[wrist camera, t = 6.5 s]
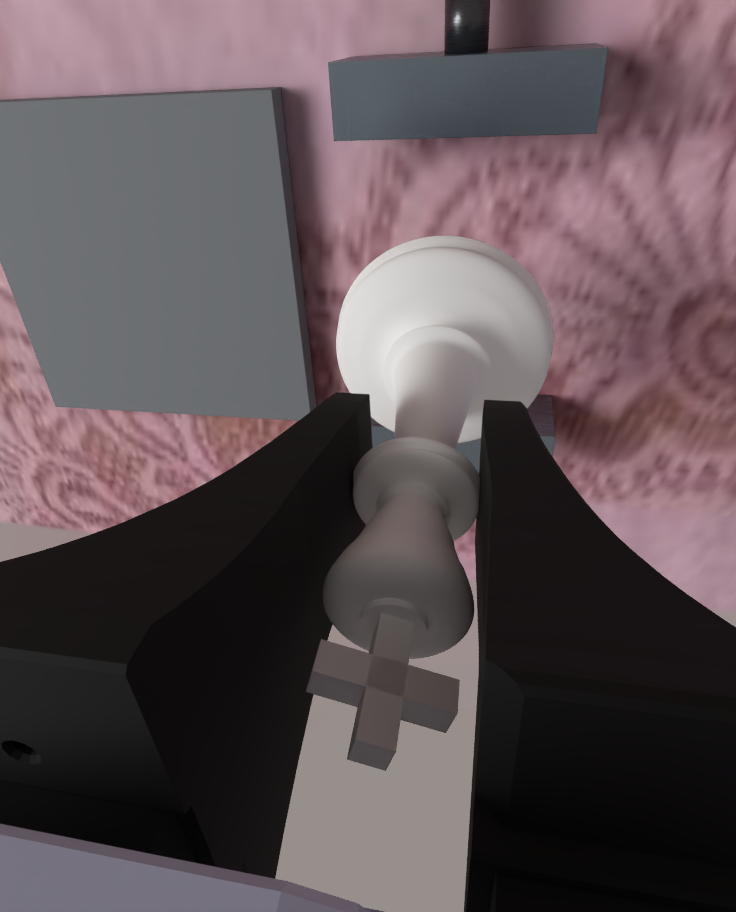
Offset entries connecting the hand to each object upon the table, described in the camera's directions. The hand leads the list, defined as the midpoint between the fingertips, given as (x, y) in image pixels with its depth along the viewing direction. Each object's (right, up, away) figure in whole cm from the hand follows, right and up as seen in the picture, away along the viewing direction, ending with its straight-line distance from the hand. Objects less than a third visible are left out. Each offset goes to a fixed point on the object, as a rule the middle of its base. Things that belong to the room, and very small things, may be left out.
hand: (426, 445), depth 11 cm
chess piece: (+1, +3, +4) cm, 4 cm away
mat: (-8, +6, +9) cm, 14 cm away
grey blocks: (+2, +5, +8) cm, 9 cm away
